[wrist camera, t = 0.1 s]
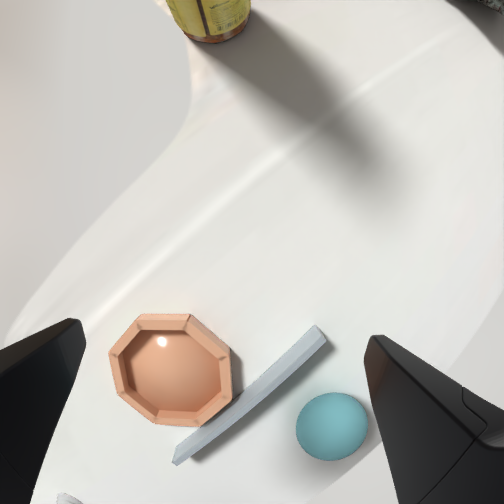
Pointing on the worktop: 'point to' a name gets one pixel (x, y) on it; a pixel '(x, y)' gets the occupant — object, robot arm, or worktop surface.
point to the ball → (331, 426)
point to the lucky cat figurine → (494, 5)
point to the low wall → (251, 394)
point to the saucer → (172, 369)
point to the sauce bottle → (210, 18)
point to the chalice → (66, 499)
